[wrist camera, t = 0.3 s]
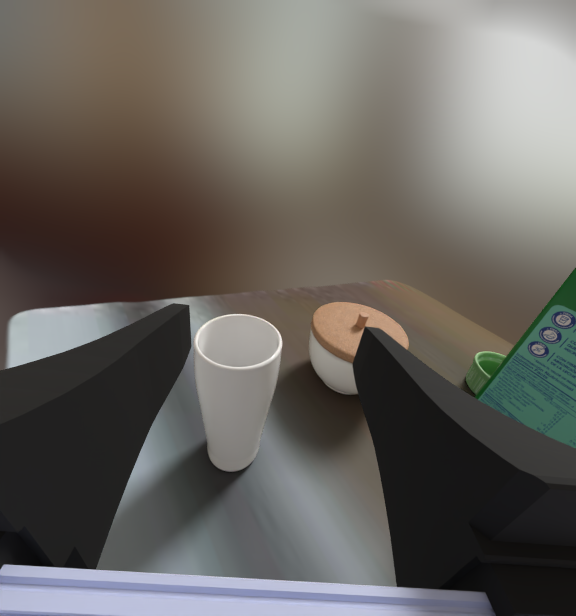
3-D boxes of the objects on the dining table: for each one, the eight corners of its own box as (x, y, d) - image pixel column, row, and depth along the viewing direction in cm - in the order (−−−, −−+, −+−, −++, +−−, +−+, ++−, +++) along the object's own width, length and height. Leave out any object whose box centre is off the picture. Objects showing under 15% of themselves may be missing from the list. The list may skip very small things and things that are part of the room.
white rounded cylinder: (258, 488, 25) (277, 378, 17) (188, 475, 25) (175, 360, 17) (270, 424, 31) (287, 320, 23) (213, 414, 31) (211, 307, 23)
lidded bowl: (349, 341, 46) (367, 286, 41) (403, 395, 37) (437, 335, 32) (286, 356, 41) (297, 295, 35) (333, 425, 32) (358, 358, 26)
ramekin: (538, 405, 40) (558, 385, 37) (509, 425, 36) (529, 405, 33) (480, 365, 46) (494, 346, 44) (449, 378, 42) (463, 358, 40)
